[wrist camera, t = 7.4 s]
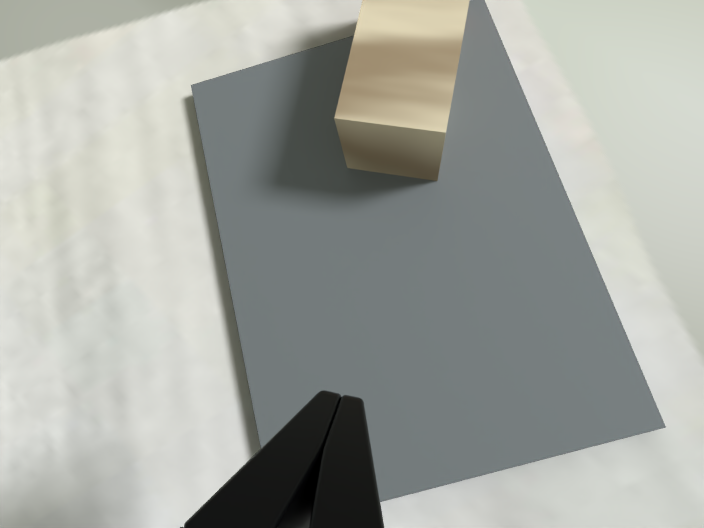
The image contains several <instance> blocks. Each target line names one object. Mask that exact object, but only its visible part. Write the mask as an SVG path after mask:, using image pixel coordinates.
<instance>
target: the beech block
mask: <svg viewBox="0 0 704 528" xmlns="http://www.w3.org/2000/svg"><path fill="white" fill-rule="evenodd" d="M469 1H470V0H363V1H362V5H361V9H360V13H359V17H358V21H357V26H356V30H355V34H354V38H353V42H352V46H351V51H350V55H349V59H348V63H347V67H346V71H345V75H344V80H343V84H342V88H341V92H340V96H339V100H338V105H337V109H336V113H335V117H334V119H335V123H336V127H337V131H338V135H339V138H340V142H341V146H342V150H343V153H344V157H345V161H346V165H347V168H351V169H358V170H364V171H371V172H378V173H385V174H392V175H399V176H406V177H413V178H420V179H427V180H433V181H438V175H439V169H440V164H441V158H442V153H443V147H444V141H445V136H446V130H447V125H448V119H449V113H450V108H451V102H452V97H453V91H454V85H455V80H456V74H457V69H458V63H459V57H460V52H461V46H462V40H463V35H464V29H465V24H466V18H467V12H468V7H469Z"/></svg>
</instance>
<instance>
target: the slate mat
mask: <svg viewBox="0 0 704 528" xmlns="http://www.w3.org/2000/svg"><path fill="white" fill-rule="evenodd" d="M353 38H354V36H351V37H348V38H344V39H341V40H338V41H335V42H331V43H328V44H325V45H321V46H318V47H315V48H311V49H308V50H305V51H302V52H298V53H295V54H292V55H288V56H285V57H282V58H279V59H275V60H272V61H269V62H265V63H262V64H259V65H256V66H252V67H249V68H246V69H242V70H239V71H236V72H233V73H229V74H226V75H223V76H219V77H216V78H213V79H210V80H206V81H203V82H200V83H196V84H193V85H191V88H192V93H193V98H194V104H195V109H196V114H197V119H198V124H199V129H200V135H201V140H202V145H203V150H204V155H205V161H206V166H207V171H208V176H209V181H210V187H211V192H212V197H213V202H214V207H215V212H216V218H217V223H218V228H219V233H220V238H221V244H222V249H223V254H224V259H225V264H226V270H227V275H228V280H229V285H230V290H231V295H232V301H233V306H234V311H235V316H236V321H237V327H238V332H239V337H240V342H241V347H242V353H243V358H244V363H245V368H246V373H247V378H248V384H249V389H250V394H251V399H252V404H253V410H254V415H255V420H256V425H257V430H258V435H259V441H260V446H261V448H262V447H263V446H264V445H265V444H266V443H267V442H268V441H269V440H270V439H271V438H272V437H273V436H274V435H275V434H276V433H277V432H278V431H279V430H281V429H282V428H283V427H284V426H285V425H286V424H287V423H288V422H289V421H290V420H291V419H292V418H293V417H294V416H295V415H296V414H297V413H298V412H299V411H300V410H301V409H302V408H303V407H304V406H305V405H306V404H307V403H308V402H309V401H310V400H311V399H312V398H313V397H314V396H315V395H316V394H317V393H318V392H320V391H322V390H325V391H330V392H335V393H339V394H340V395H341V397H342V396H343V395H349V396H354V397H358V398H361V399H362V400H363V402H364V407H365V413H366V420H367V426H368V432H369V438H370V444H371V450H372V456H373V462H374V468H375V475H376V481H377V487H378V493H379V499H380V502H382V501H386V500H390V499H393V498H397V497H401V496H405V495H409V494H413V493H416V492H420V491H424V490H428V489H432V488H436V487H439V486H443V485H447V484H451V483H455V482H459V481H462V480H466V479H470V478H474V477H478V476H481V475H485V474H489V473H493V472H497V471H501V470H504V469H508V468H512V467H516V466H520V465H524V464H527V463H531V462H535V461H539V460H543V459H547V458H550V457H554V456H558V455H562V454H566V453H570V452H573V451H577V450H581V449H585V448H589V447H592V446H596V445H600V444H604V443H608V442H612V441H615V440H619V439H623V438H627V437H631V436H635V435H638V434H642V433H646V432H650V431H654V430H658V429H661V428H665V424H664V422H663V420H662V417H661V415H660V413H659V410H658V408H657V405H656V403H655V401H654V398H653V396H652V394H651V391H650V389H649V387H648V384H647V382H646V380H645V377H644V375H643V373H642V370H641V368H640V365H639V363H638V361H637V358H636V356H635V354H634V351H633V349H632V347H631V344H630V342H629V340H628V337H627V335H626V332H625V330H624V328H623V325H622V323H621V321H620V318H619V316H618V314H617V311H616V309H615V307H614V304H613V302H612V300H611V297H610V295H609V292H608V290H607V288H606V285H605V283H604V281H603V278H602V276H601V274H600V271H599V269H598V267H597V264H596V262H595V259H594V257H593V255H592V252H591V250H590V248H589V245H588V243H587V241H586V238H585V236H584V234H583V231H582V229H581V227H580V224H579V222H578V219H577V217H576V215H575V212H574V210H573V208H572V205H571V203H570V201H569V198H568V196H567V194H566V191H565V189H564V186H563V184H562V182H561V179H560V177H559V175H558V172H557V170H556V168H555V165H554V163H553V161H552V158H551V156H550V153H549V151H548V149H547V146H546V144H545V142H544V139H543V137H542V135H541V132H540V130H539V128H538V125H537V123H536V121H535V118H534V116H533V113H532V111H531V109H530V106H529V104H528V102H527V99H526V97H525V95H524V92H523V90H522V88H521V85H520V83H519V80H518V78H517V76H516V73H515V71H514V69H513V66H512V64H511V62H510V59H509V57H508V55H507V52H506V50H505V48H504V45H503V43H502V40H501V38H500V36H499V33H498V31H497V29H496V26H495V24H494V22H493V19H492V17H491V15H490V12H489V10H488V7H487V5H486V3H485V0H470V1H469V7H468V12H467V18H466V24H465V29H464V35H463V40H462V46H461V52H460V57H459V63H458V69H457V74H456V80H455V85H454V91H453V97H452V102H451V108H450V113H449V119H448V125H447V130H446V136H445V141H444V147H443V153H442V158H441V164H440V169H439V175H438V181H433V180H427V179H420V178H413V177H406V176H399V175H392V174H385V173H378V172H371V171H364V170H358V169H351V168H347V165H346V161H345V157H344V153H343V150H342V146H341V142H340V138H339V135H338V131H337V127H336V123H335V119H334V117H335V113H336V109H337V105H338V100H339V96H340V92H341V88H342V84H343V80H344V75H345V71H346V67H347V63H348V59H349V55H350V51H351V46H352V42H353Z"/></svg>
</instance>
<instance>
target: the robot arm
mask: <svg viewBox="0 0 704 528" xmlns="http://www.w3.org/2000/svg"><path fill="white" fill-rule="evenodd" d="M180 528H384V523H383V517H382V511H381V505H380V499H379V493H378V487H377V481H376V475H375V468H374V462H373V456H372V450H371V444H370V438H369V432H368V426H367V420H366V413H365V407H364V402H363V400H362V399H361V398H358V397H354V396H349V395H343V396H342V397H341V395H340V394H339V393H335V392H330V391H325V390H322V391H320V392H318V393H317V394H316V395H315V396H314V397H313V398H312V399H311V400H310V401H309V402H308V403H307V404H306V405H305V406H304V407H303V408H302V409H301V410H300V411H299V412H298V413H297V414H296V415H295V416H294V417H293V418H292V419H291V420H290V421H289V422H288V423H287V424H286V425H285V426H284V427H283V428H282V429H281V430H279V431H278V432H277V433H276V434H275V435H274V436H273V437H272V438H271V439H270V440H269V441H268V442H267V443H266V444H265V445H264V446H263V447H262V448H261V449H260V450H259V451H258V452H257V453H256V454H255V455H254V456H253V457H252V458H251V459H250V460H249V461H248V462H247V463H246V464H245V465H244V466H243V467H242V468H241V469H240V470H239V471H238V472H237V473H236V474H235V475H233V476H232V477H231V478H230V479H229V480H228V481H227V482H226V483H225V484H224V485H223V486H222V487H221V488H220V489H219V490H218V491H217V492H216V493H215V494H214V495H213V496H212V497H211V498H210V499H209V500H208V501H207V502H206V503H205V504H204V505H203V506H202V507H201V508H200V509H199V510H198V511H197V512H196V513H195V514H194V515H193V516H192V517H191V518H190V519H189V520H187V521H186V522H185V524H184V527H180Z"/></svg>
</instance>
